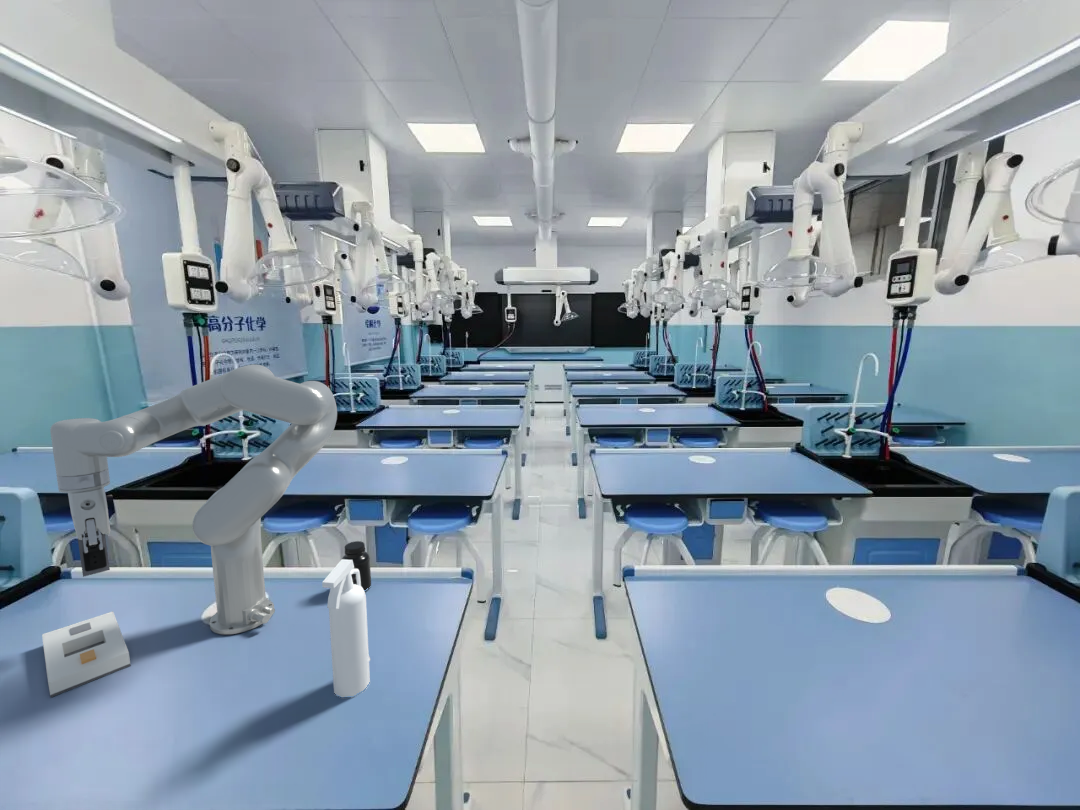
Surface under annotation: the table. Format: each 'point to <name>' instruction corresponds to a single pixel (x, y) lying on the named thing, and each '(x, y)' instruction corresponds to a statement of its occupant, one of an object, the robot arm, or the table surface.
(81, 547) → the block
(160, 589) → the table surface
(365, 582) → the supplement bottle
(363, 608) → the white spray bottle
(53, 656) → the switch panel
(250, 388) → the robot arm
